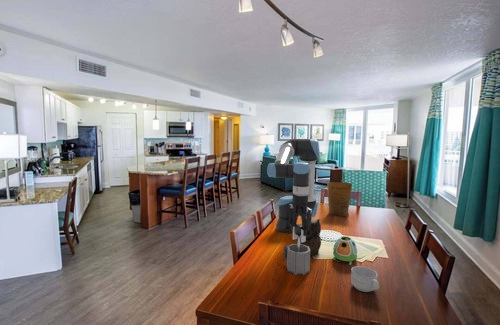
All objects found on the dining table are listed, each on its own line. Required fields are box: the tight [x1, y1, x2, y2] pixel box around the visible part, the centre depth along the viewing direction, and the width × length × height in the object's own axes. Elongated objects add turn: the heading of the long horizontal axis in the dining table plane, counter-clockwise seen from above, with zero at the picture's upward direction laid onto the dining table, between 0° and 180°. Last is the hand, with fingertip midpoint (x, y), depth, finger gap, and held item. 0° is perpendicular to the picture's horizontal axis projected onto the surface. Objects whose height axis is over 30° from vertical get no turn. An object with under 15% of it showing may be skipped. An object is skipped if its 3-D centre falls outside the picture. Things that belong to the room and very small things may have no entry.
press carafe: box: [283, 243, 311, 276], centre depth 138 cm, size 14×11×11 cm
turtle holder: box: [332, 235, 358, 266], centre depth 150 cm, size 12×18×12 cm
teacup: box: [350, 265, 380, 293], centre depth 120 cm, size 14×11×8 cm
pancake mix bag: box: [326, 181, 353, 217], centre depth 226 cm, size 7×19×28 cm, turn 63°
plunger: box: [295, 223, 303, 252], centre depth 136 cm, size 8×8×19 cm
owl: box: [300, 218, 322, 258], centre depth 154 cm, size 13×13×20 cm
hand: (299, 240), depth 136 cm, fingers closed on plunger, 4 cm apart
